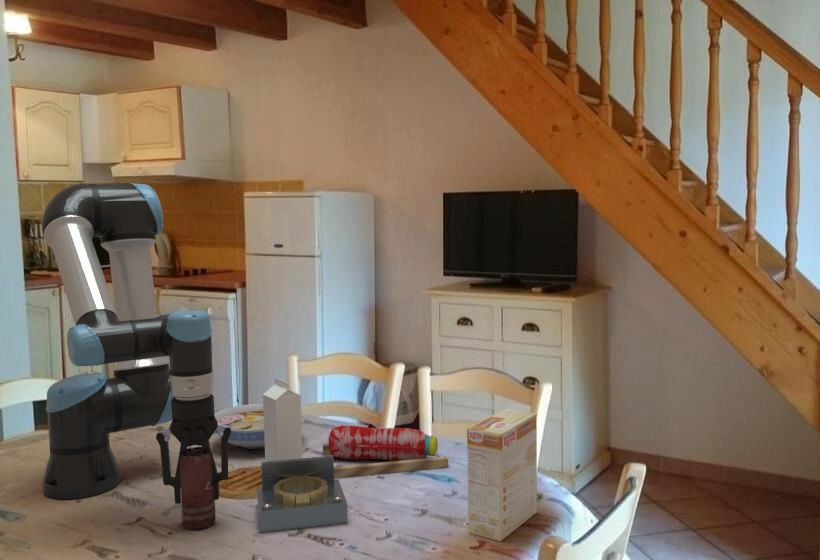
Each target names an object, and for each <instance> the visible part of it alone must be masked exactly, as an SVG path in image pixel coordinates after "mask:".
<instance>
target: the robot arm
mask: <svg viewBox="0 0 820 560" xmlns="http://www.w3.org/2000/svg"><path fill="white" fill-rule="evenodd" d="M163 221H164V214H163V209H162V204H161V201H160V198H159V195H158V194H157V192H156V190H155V189H154V188H153V187H152V186H150V185H149V184H146V183H132V182H125V183H124V182H123V183H121V182H118V183H116V182H112V183H111V182H109V183H107V182H106V183H88V182H86V183H85V182H81V183H76V184H71V185H69V186H67V187H64V188H63V189H61V190H60V191H59V192H57V193H56V194H55V195H54V196H53V197H52V198H51V199H50V201H49V202H48V203H47V204H46V207H45V209H44V211H43V213H42V219H41V232H42V236H43V240H44V242H45V243H46V245H47V246H48V247H49V248H50V249H52V251H53V255H54V258H55V262H56V265H57V268H58V271H59V275H60V279H61V281H62V285H63V288H64V291H65V295H66V298H67V302H68V305H69V309H70V313H71V316H72V319H73V322H74V325H73V326H70V327H69V328H68V330H67V333H66V334H67V335H66V345H67V350H68V357H69V361H70V362H71V363H72V365H74V366H75V367H91V366H92V367H93V366H96V367H97V366H101V365H107V364H114V363H117V364H116V365H115V366H114V367H113V369H112V370H113V377H110V378H108V377H107V376H106V374H105V373H104V372H99V371H95V372H86V373H85V372H84V373H79V374H74V375H72V376H71V375H70V376H69V377H65V378H62V379H60V380H58V381H56V382H54V383H52V385H50V386H49V388H48V389H47V391H46V407H45V411H46V412H47V425H48V427H47V429H48V442H49V457H48V462H47V464H46V469H45V470H44V471H45V472H44V476H43V478H42V479H43V480H42V492H43V495H45V496H46V497H48V498H51V499H58V500H59V499H60V500H74V499H81V498H82V499H83V498H89V497H93V496H97V495H100V494H103V493H105V492H108V491H110V490H113V489H114V488H116V487H117V486H118V485H119V484H120V483H121V479H122V478H121V470H120V467H119V464H118V462H117V460H116V458H115V455H114V453H113V450H112V448H111V445H110V444H111V443H110V434H112V433H113V434H114V433H117V432H118V433H119V432H122V431H129V430H134V429H135V430H136V429H140V428H146V427H155V426H158V425H161V424H166V423H169V422H171V423H170V425H169V427H166V428H165V429H158V430H157V432H156V436H155V439H156V441H157V443H158V445H159V447H160V448H159V449H160V459H161V460H160V461H161V470H162V483H163V485H164V486H166V487H167V486H171V487H172V488H173V489H174V491H173V492H174V494H173V495H174V503H175V505H179V504H180V512H181V511H182V498H180V490H181V488H180V485H181V482H180V461H179V460H180V458H181V455H183V456H186V452H187V449H188V448H190V447H194V446H196V447H202V450H203V453H204V454H207V453H209V454H210V455H211V452H212V453H213V451H212V447H211V441H210V439H211V438H212V436H213V434H214V433H216V431H215V430H218V432H219V433H218V434H217V435H218V436H219V437H220V440H221V442H220V463H221V464H220V469H221V471H219V472H218V470H217V469H218V468H217V466H216V461H215V458H214V457H213V459H212V479H213V483H212V485H213V486H214V500H215V501H216V500H217V501H218V500H219V499H220V485H219V484H220V483H221V481H227V480H228V478H229V443H228V439H229V436H230V433H231V426H230V425H226V426H225V425H222V424H219V423H218V422H217V420H216V418H215V413H216V412H215V397H214V395H213V392H214V391H215V389H214V370H213V348H212V346H213V345H212V343H213V342H212V334H213V333H212V332H213V329H212V325H211V317H210V314H209V313H208V312H207V311H205V310H199V309H184V310H177V311H173V312H171V313H169V314H168V313H164V314H163V313H162V314H157V306H156V296H155V286H154V278H153V277H154V276H153V267H152V257H151V249H152V247H153V246H154V245H155V244H156V243H157V237H156V236H158V235H160V234H161V233H162V232H163V230H164V223H163ZM93 238H100V239H99V241H100V247H102V248H103V249H104V250H106V251H107V252H108V254H109V255H108V256H109V264H110V275H111V283H112V285H111V286H112V294H113V295H111V293H110V290H109V287H108V285H107V280H106V278H105V275H104V272H103V269H102V266H101V263H100V260H99V258H98V255H97V251H96V248H95V246H94V242H93ZM112 297H113V298H112ZM164 357H168V359H169V360H167V359H165V358H164ZM171 434H172V435H173V436H174V438H175V439H176V440H177V441H178V442H179V443H180V447H179V452H178V459H177V464H176V471H175V474H174V475H175V476H172V471H171V460H170V459H171V458H170V446H169V441H170V439H171ZM211 457H212V455H211ZM182 522H183V519H181V523H182Z"/></svg>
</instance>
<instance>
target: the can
mask: <svg viewBox="0 0 820 560" xmlns="http://www.w3.org/2000/svg"><path fill="white" fill-rule="evenodd" d="M211 455H212V457H211ZM211 455H210V454H209V453H207V454H204V453H203V450H202V447H201V446H195V447H194V446H190V447H187V452H186V456H183V455H181V458H180V460H179V461H180V482H181V485H180V488H181V490H180V498H182V511H181V510H180V515H181V520H182V519H183V522H182V521H181V525H182V527H183V528H184V529H186V530H188V531H199V530H200V531H201V529H202V530H206V529H208V528H210V527H211V525H212V526H213V525H214V523H215V521H216V520H217V519H216V500H214V486H213V485H212V483H213V479H212V459H213V458H214V454H213V451H212V452H211ZM207 527H208V528H207Z"/></svg>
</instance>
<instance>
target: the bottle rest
mask: <svg viewBox="0 0 820 560" xmlns="http://www.w3.org/2000/svg"><path fill="white" fill-rule="evenodd" d="M426 435H427V437H431V435H429V434H426ZM322 454H323V456H325V455H331V454H330V452H329V447H328V443H325V444H324V443H322ZM444 467H448V468H449V457H447V456H434V457H426V458H423V459H413V460H403V461H383V462H373V463H363V464H362V463H361V464H352V465H351V464H350V465H349V464H348V465H340V466H334V479H343V478H351V477H352V478H354V477H364V476H365V477H366V476H373V475H385V474H393V473H394V474H396V473H403V472H404V473H405V472H407V473H408V472H413V471H424V470H425V471H426V470H436V468H438V469H445V468H444Z"/></svg>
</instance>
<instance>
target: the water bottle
mask: <svg viewBox="0 0 820 560" xmlns="http://www.w3.org/2000/svg"><path fill="white" fill-rule="evenodd" d="M427 435H428V434H426V433H424V432H423V431H422V430H419V429H415V428H407V427H387V428H386V427H385V428H383V427H381V428H380V427H377V426H375V425H374V424H371V423H369V424H368V425H367V427H366V426H357V425H344V424H343V425H339V426H336V427H334V428H332V429H331V431H330V432H329V434H328V441H327V442H328V443H327V444H328V447H329V452H330V454H329V455H330V456H333V457H336V458H337V459H340V460H343V459H345V460H383V461H388V462H392V461H403V460H413V459H424V458H427V456H429V457H437V453H438V447H439V443H438V437H436V436H434V435H433V434H432V435H430V437H427Z"/></svg>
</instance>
